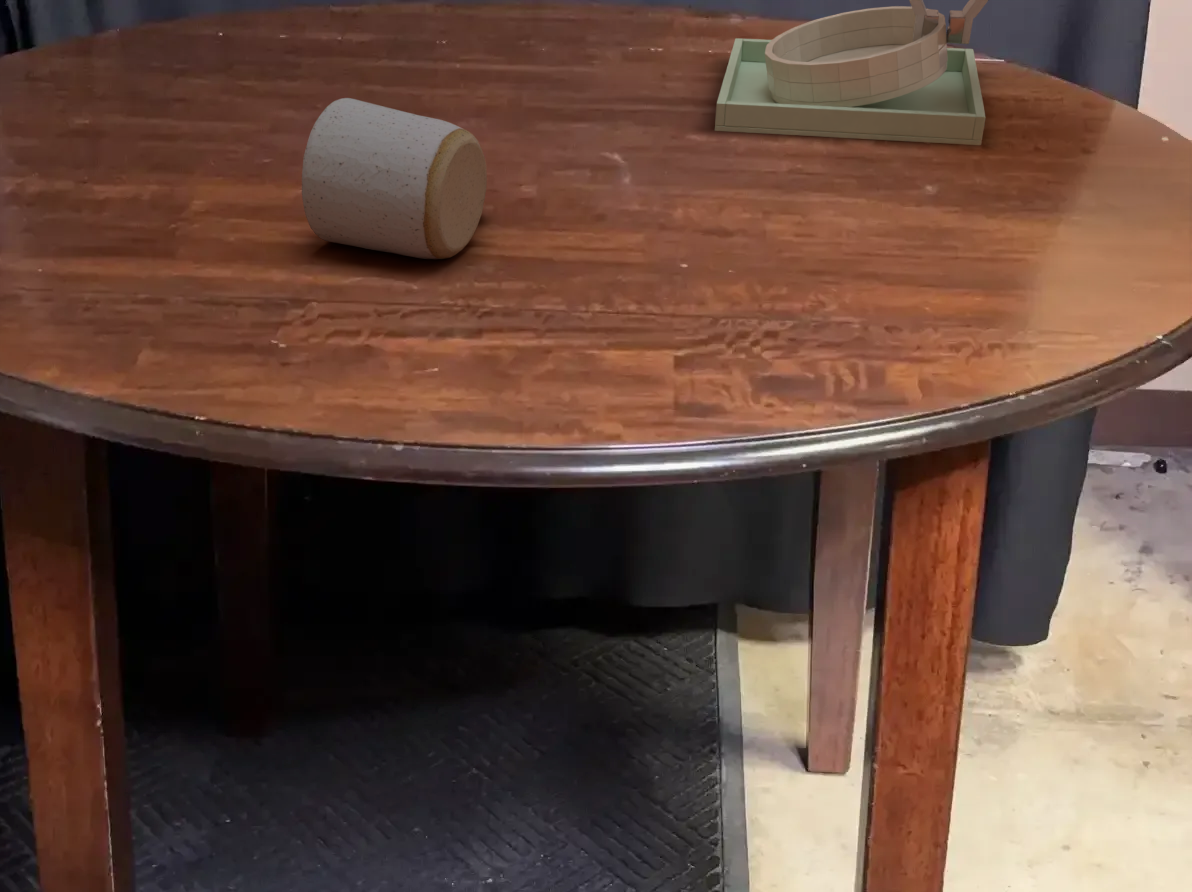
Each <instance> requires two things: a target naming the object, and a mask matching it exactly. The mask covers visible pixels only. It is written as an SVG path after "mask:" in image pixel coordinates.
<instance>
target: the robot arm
mask: <svg viewBox="0 0 1192 892" xmlns="http://www.w3.org/2000/svg"><path fill="white" fill-rule="evenodd" d="M908 1H909V3H910V7H912V9H913V11H914V14H915V21H914V28H913V41H916V40H918V39H920V38H922V37H924V36H925V35H927V34H929V33H931V32H932V30H933V29H934V28H935V27H936V26H937V25H938V20H939V14H938V13H940V12H939V9H932V8H927V7H926V5H925V2H924V0H908ZM988 2H989V0H968V1H967V3H966V4H965V6H964V7H963V8H962V9H961V10H955V9H954V10H953V9H952V10H949V15H948V21H947V22H948V26H946V39H947V41H946V42H947V44H956V45H957V44H959V45H960V44H961V45H969V44H970V40H971V35H972V28H973V23H974V19H975V18H977V16H978V15H979V14H980V12H981V11H982V10H983V9H984V7H985V6H986V5H987V3H988ZM926 8H927V9H926Z"/></svg>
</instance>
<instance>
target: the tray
mask: <svg viewBox="0 0 1192 892" xmlns="http://www.w3.org/2000/svg"><path fill="white" fill-rule="evenodd" d="M772 40H773V39H763V38H762V39H759V38H737V37H735V39H734V42H733V45H732V47H731V48H732V49H731V52H730V55H729V59H728V64H727V66H726V70H725V73H724V76H723V80H722V83H721V86H720V90H719V94H718V97H717V100H716V105H715V106H716V107H715V119H714V125H715V126H714V131H715V132H729V133H730V132H733V133H751V134H770V135H787V136H805V137H806V136H808V137H820V138H821V137H824V138H841V139H859V140H860V139H861V140H879V141H895V142H914V143H915V142H916V143H931V144H933V143H934V144H948V145H949V144H950V145H951V144H952V145H968V146H981V145H982V140H983V135H984V131H985V130H984V129H985V123H986V118H987V117H986V111H985V107H984V100H983V96H982V95H983V94H982V89H981V85H980V79H979V74H978V73H979V72H978V69H977V62H976V56H975V51H974V49H973V48H962V47H961V48H957V47H947V59H948V60H947V69H946V71H945V72H944V73H943V75H942V76H940V77H939V78H938V79H937V80H935V81H934V82H932V83H930V84H929V85H927V86H925V87H923V88H920V89H918V90H916V91H913V92H911V93H908V94H905V95H902V96H899V97H896V98H892V99H889V100H885V101H881V102H876V103H872V104H867V105H861V106H855V107H833V106H814V105H795V104H779V103H777V102H775V101H774V100H773V99H772V97H771V95H770V90H769V86H768V78H767V69H766V61H765V50H766V45H767V44H768V43H769V42H771V41H772Z"/></svg>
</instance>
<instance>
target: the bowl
mask: <svg viewBox="0 0 1192 892" xmlns="http://www.w3.org/2000/svg"><path fill="white" fill-rule="evenodd" d="M926 9H928V8H927V7H926ZM938 14H939V20H938V25H937V26H936V27H935V28H934V29H933V30H932V32H931V33H929V34H927V35H925V36H924V37H922V38H920V39H918V40H916V41H913V28H914V21H915V14H914V11H913V9H912V6H905V5H904V6H903V5H900V6H899V5H895V6H894V5H893V6H881V7H880V6H879V7H871V8H870V7H869V8H863V9H862V8H861V9H857V10H851V11H845V12H840V13H837V14H833V15H828V16H823V17H821V18H817V19H813V20H810V21H808V22H805V23H802V24H799V25H796V26H794V27H792V28H790V29H788V30H786V31H784V32H782V33H780V34H778V35H776V36H775V37H774V38H773V39H771V40H772V41H771V42H769V43H768V44H767V45H766V50H765V61H766V69H767V78H768V86H769V90H770V95H771V97H772V99H773V100H774V101H775V102H777V103H779V104H795V105H814V106H833V107H855V106H861V105H867V104H872V103H876V102H881V101H885V100H889V99H892V98H896V97H899V96H902V95H905V94H908V93H911V92H913V91H916V90H918V89H920V88H923V87H925V86H927V85H929V84H930V83H932V82H934V81H935V80H937V79H938V78H939V77H940V76H942V75H943V73H944V72H945V71H946V69H947V60H948V59H947V48H948V43H947V42H946V41H947V39H946V33H947V24H946V23H947V22H946V16H945V15H944V14H943V13H940V12H939V13H938Z"/></svg>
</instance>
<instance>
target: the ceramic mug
mask: <svg viewBox="0 0 1192 892" xmlns="http://www.w3.org/2000/svg"><path fill="white" fill-rule="evenodd" d="M302 159H303V160H302V170H301V171H302V172H301V197H302V204H303V209H304V214H305V218H306V220H307V223H308V225H309V227H310V229H311V230H312V232H313V233H314V234H315V235H316V236H317V237H318V238H319V239H321V240H323V241H325V242H329V243H333V244H340V245H345V246H350V247H351V246H352V247H355V248H356V247H357V248H361V249H366V250H372V251H377V252H384V253H389V254H396V255H401V256H405V257H410V258H417V259H422V260H446V259H450V258H452V257H454V256H456V255H457V254H459V253H460V252H461V251H462V250H463V249H464V248H465V247H466V246H468V244H469V243H470V241H471V239H472V238H473V237H474V235H475V232H476V231H477V228H478V225H479V224H480V220H481V217H482V214H483V210H484V205H485V199H486V193H487V185H488V184H487V183H488V182H487V181H488V180H487V179H488V178H487V177H488V173H487V172H488V171H487V162H486V157H485V154H484V151H483V149H482V147H481V144H480V142H479V140H478V139H477V138H476V136H475V135H474V134H473V133H472V132H470V131H469V130H467V129H465V128H462V127H461V126H458V125H456V124H454V123H452V122H449V121H446V120H442V119H439V118H433V117H429V116H425V115H420V114H415V113H411V112H408V111H407V112H406V111H403V110H400V109H395V108H391V107H387V106H382V105H379V104H375V103H371V102H367V101H364V100H359V99H356V98H350V97H344V98H339V99H336V100H334V101H332V102H331V103H330V104H329V105H327V106H325V108H324V109H323V111H322V112H321V114H320V115H319V116H318V117H317V119H316V121H314V124H313V126H312V128H311V131H310V133H309V136H308V140H307V143H306V145H305V150H304V153H303V158H302Z"/></svg>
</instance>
